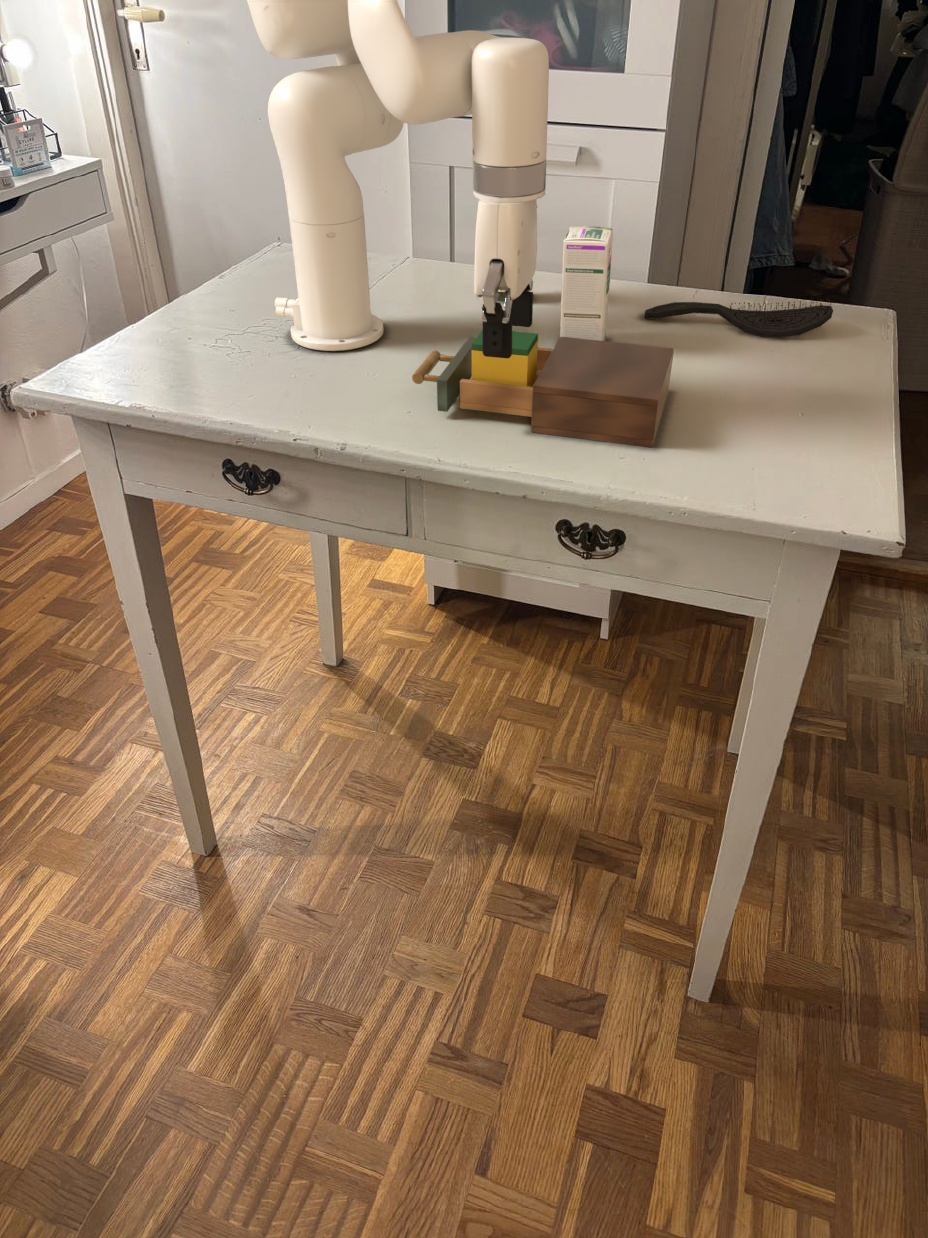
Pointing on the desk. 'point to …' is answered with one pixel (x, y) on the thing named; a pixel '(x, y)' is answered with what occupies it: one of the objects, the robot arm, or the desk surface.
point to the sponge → (507, 361)
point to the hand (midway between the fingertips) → (508, 340)
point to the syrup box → (586, 282)
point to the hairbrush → (754, 317)
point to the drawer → (476, 384)
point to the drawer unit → (602, 391)
